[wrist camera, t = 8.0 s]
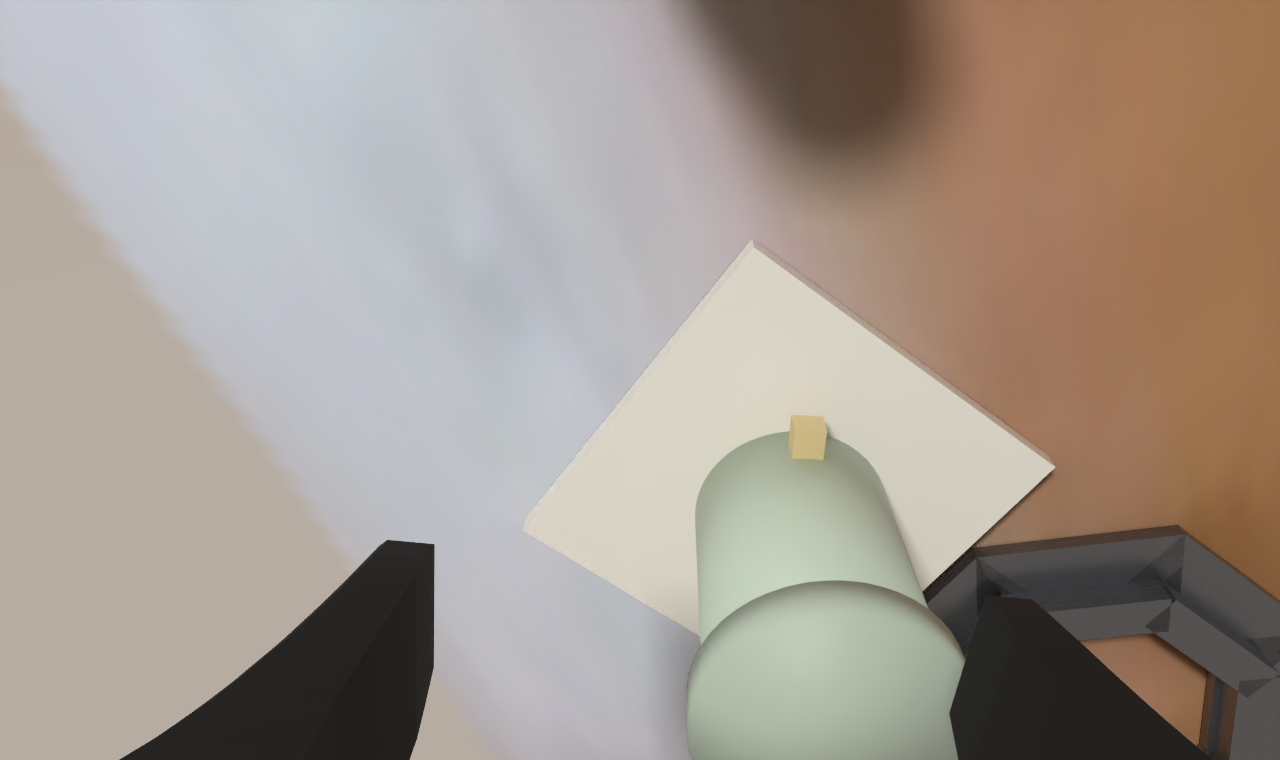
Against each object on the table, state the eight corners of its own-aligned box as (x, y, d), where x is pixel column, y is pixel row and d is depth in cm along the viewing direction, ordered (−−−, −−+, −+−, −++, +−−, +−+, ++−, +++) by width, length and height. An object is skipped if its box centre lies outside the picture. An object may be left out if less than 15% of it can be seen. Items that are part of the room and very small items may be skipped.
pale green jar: (880, 618, 25) (951, 858, 19) (676, 609, 25) (678, 844, 19) (917, 409, 23) (1014, 605, 16) (690, 399, 23) (697, 590, 16)
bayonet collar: (1394, 685, 26) (1439, 733, 25) (1060, 921, 31) (1080, 974, 29) (1076, 450, 24) (1105, 488, 22) (758, 746, 28) (763, 795, 26)
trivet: (1046, 454, 24) (1055, 466, 23) (802, 684, 27) (805, 700, 26) (752, 238, 22) (754, 247, 21) (526, 516, 25) (523, 529, 24)
